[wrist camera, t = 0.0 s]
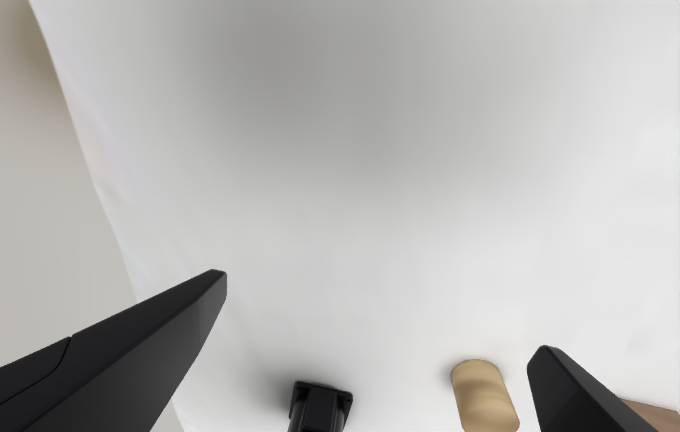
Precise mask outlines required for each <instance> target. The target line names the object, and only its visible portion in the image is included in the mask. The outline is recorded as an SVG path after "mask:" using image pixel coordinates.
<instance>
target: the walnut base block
mask: <svg viewBox="0 0 680 432" xmlns="http://www.w3.org/2000/svg"><path fill="white" fill-rule="evenodd" d="M619 399H621V398H619ZM621 400H622V401H623V402H624V403H625V404H627V405H628V406H629V407H630V408H631V409H633V410H634V411H635V412H636V413H637V414H639V415H640V416H641V417H642V418H643V419H645V420H646V421H647V422H648V423H649V424H651V425H652V426H653V427H654V428H655V429H657V430H658V431H659V432H680V415H679V414H678V413H677V411H672V410H668V409H664V408H660V407H655V406H651V405H647V404H642V403H638V402H634V401H629V400H625V399H621Z"/></svg>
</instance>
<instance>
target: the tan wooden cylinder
mask: <svg viewBox="0 0 680 432" xmlns="http://www.w3.org/2000/svg"><path fill="white" fill-rule="evenodd" d="M451 381H452V385H453V390H454V394H455V398H456V403H457V407H458V411H459V416H460V420H461V424H462V428H463V429H464V431H465V432H516V431H517V430H518V428H519V425H520V422H519V419H518V416H517V414H516V411H515V409H514V406H513V404H512V401H511V399H510V396H509V394H508V391H507V388H506V386H505V383H504V381H503V378H502V376H501V373H500V371H499V369H498V368H497V367H496V366H495V365H494V364H492V363H490V362H488V361H484V360H468V361H464V362H462V363H460V364H458V365H457V366H455V367H454V368H453V370H452V372H451Z"/></svg>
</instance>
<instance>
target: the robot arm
mask: <svg viewBox="0 0 680 432" xmlns="http://www.w3.org/2000/svg"><path fill="white" fill-rule="evenodd" d="M226 296H227V274H226V272H224V271H220V270H216V269H211V270H208V271H206V272H204V273H202V274H200V275H198V276H196V277H193V278H191V279H189V280H187V281H185V282H183V283H181V284H179V285H177V286H174V287H172V288H170V289H168V290H166V291H164V292H162V293H160V294H158V295H155V296H153V297H151V298H149V299H147V300H145V301H143V302H141V303H138V304H136V305H134V306H132V307H130V308H128V309H126V310H124V311H122V312H120V313H117V314H115V315H113V316H111V317H109V318H107V319H105V320H102V321H100V322H98V323H96V324H94V325H92V326H90V327H88V328H86V329H83V330H81V331H79V332H77V333H75V334H73V335H72V337H66V338H64V339H62V340H60V341H58V342H56V343H54V344H51V345H50V346H47V347H45V348H43V349H41V350H38V351H36V352H34V353H32V354H29V355H27V356H25V357H23V358H21V359H18V360H16V361H14V362H12V363H10V364H7V365H5V366H2V367H0V432H150V430H151V429H152V427H153V425H154V424H155V422H156V421H157V419H158V417H159V416H160V414H161V413H162V411H163V409H164V408H165V407H166V405H167V403H168V402H169V400H170V399H171V397H172V395H173V394H174V392H175V391H176V389H177V387H178V386H179V384H180V383H181V381H182V380H183V378H184V376H185V375H186V373H187V372H188V370H189V368H190V367H191V365H192V364H193V362H194V361H195V359H196V357H197V356H198V354H199V352H200V351H201V349H202V347H203V345H204V343H205V341H206V339H207V337H208V335H209V333H210V331H211V329H212V327H213V325H214V323H215V321H216V318H217V316H218V314H219V312H220V310H221V308H222V306H223V304H224V302H225V300H226ZM527 375H528V380H529V384H530V388H531V392H532V396H533V401H534V405H535V409H536V413H537V417H538V422H539V425H540V429H541V432H659V431H658V430H657V429H655V428H654V427H653V426H652V425H651V424H649V423H648V422H647V421H646V420H645V419H643V418H642V417H641V416H640V415H639V414H637V413H636V412H635V411H634V410H633V409H631V408H630V407H629V406H628V405H627V404H625V403H624V402H623V401H622V400H621V399H619V398H618V397H617V396H616V395H615V394H613V393H612V392H611V391H610V390H609V389H607V388H606V387H605V386H604V385H603V384H601V383H600V382H599V381H598V380H597V379H595V378H594V377H593V376H592V375H591V374H589V373H588V372H587V371H586V370H585V369H583V368H582V367H581V366H580V365H579V364H577V363H576V362H575V361H574V360H573V359H571V358H570V357H569V356H568V355H567V354H565V353H564V352H563V351H562V350H560V349H559V348H556V347H551V346H547V345H542V346H540V347H539V348H538V350H537V351H536V352H535V354H534V355H533V357H532V358H531V360H530V361H529V363H528V365H527ZM352 402H353V396H352V395H350V394H347V393H343V392H339V391H334V390H330V389H326V388H322V387H318V386H313V385H309V384H305V383H301V382H297V383H295V386H294V391H293V396H292V402H291V407H290V413H289V419H290V424H289V428H288V432H343V429H344V426H345V423H346V420H347V417H348V414H349V411H350V408H351V405H352Z"/></svg>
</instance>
